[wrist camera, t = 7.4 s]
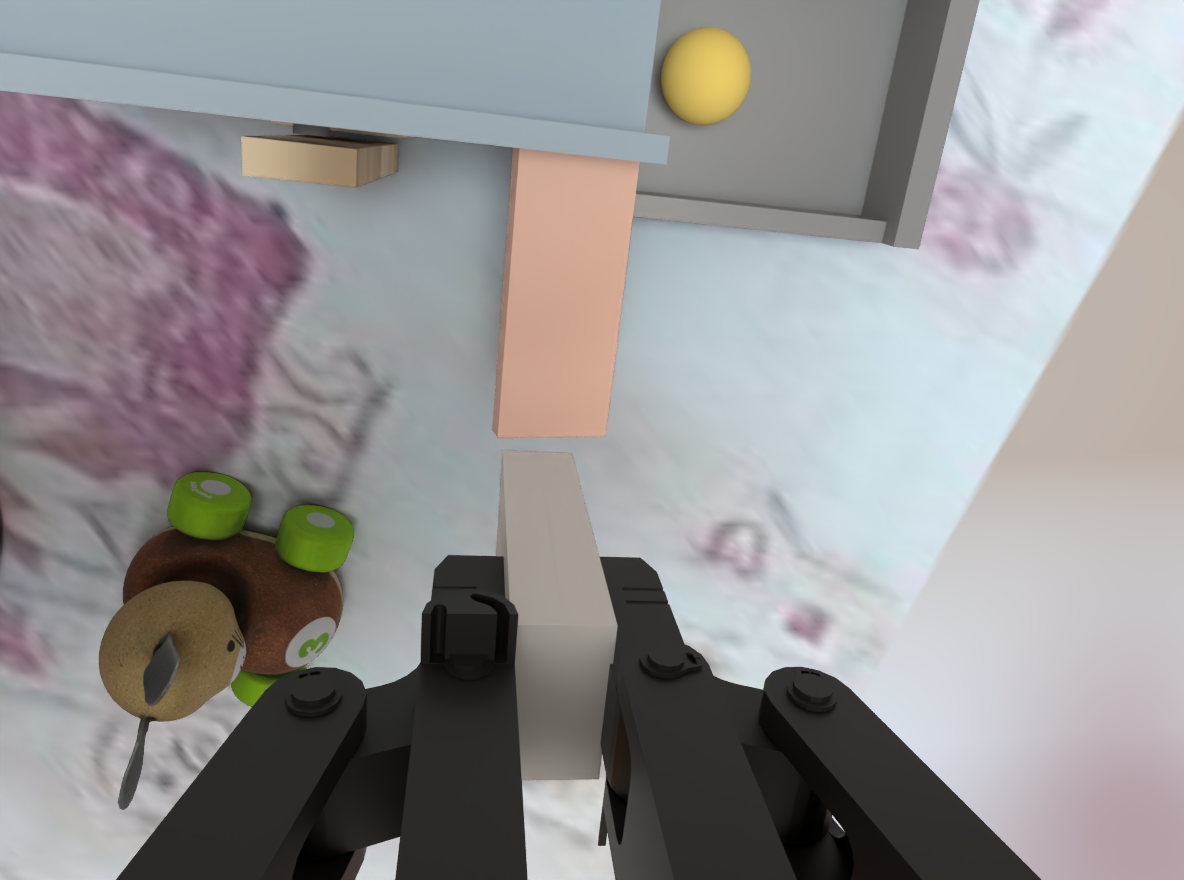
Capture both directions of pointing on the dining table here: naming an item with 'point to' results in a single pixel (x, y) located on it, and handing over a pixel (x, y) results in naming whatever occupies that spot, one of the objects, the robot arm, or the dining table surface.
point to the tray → (814, 118)
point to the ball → (705, 76)
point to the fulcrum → (319, 158)
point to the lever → (418, 131)
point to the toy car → (220, 606)
